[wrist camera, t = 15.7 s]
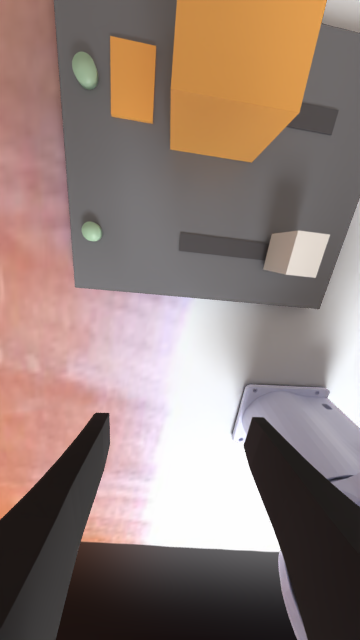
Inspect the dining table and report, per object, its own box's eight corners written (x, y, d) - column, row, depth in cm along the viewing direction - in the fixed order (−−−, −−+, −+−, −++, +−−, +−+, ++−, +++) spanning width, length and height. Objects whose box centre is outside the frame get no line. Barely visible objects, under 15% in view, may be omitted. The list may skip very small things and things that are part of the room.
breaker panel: (387, 68, 13) (424, 38, 11) (307, 304, 18) (323, 310, 16) (65, -7, 11) (44, -60, 9) (82, 283, 16) (72, 288, 14)
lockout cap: (273, 48, 11) (351, -102, 6) (251, 162, 13) (299, 112, 8) (179, 27, 10) (187, -150, 6) (170, 149, 12) (170, 88, 8)
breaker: (297, 237, 14) (330, 234, 11) (287, 272, 15) (315, 277, 12) (271, 233, 14) (298, 230, 11) (263, 269, 15) (285, 274, 12)
